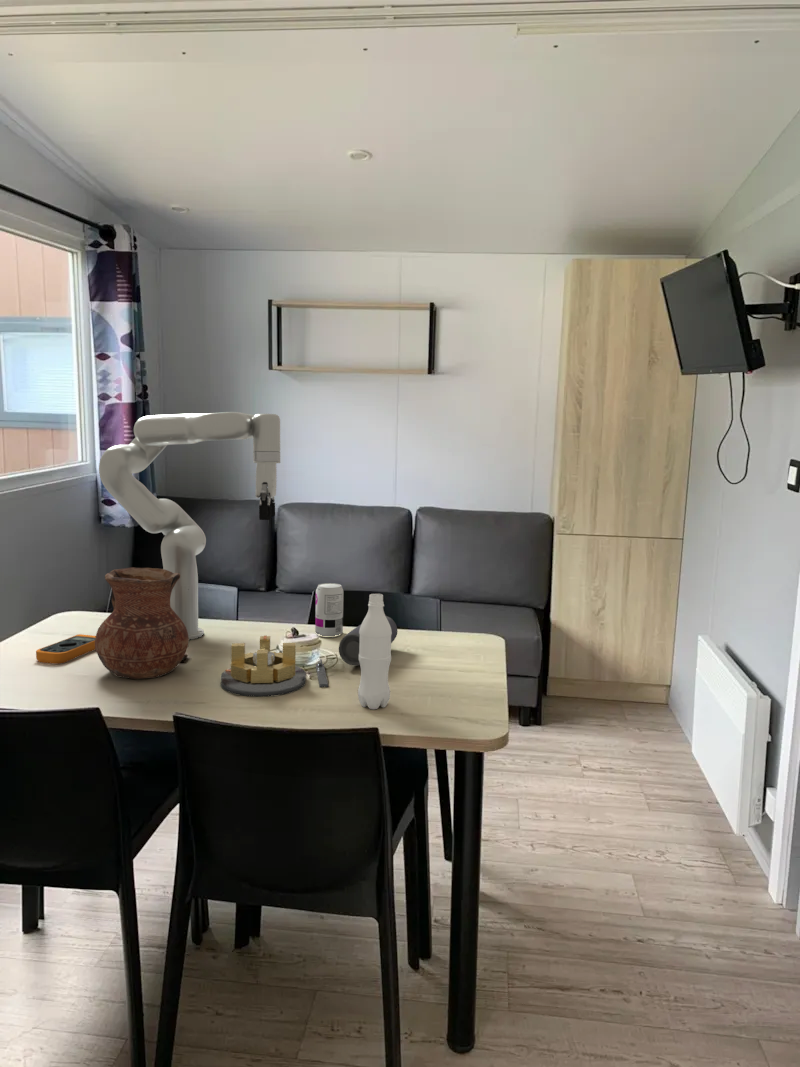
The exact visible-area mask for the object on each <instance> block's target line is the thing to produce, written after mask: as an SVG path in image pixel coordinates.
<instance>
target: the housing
mask: <svg viewBox="0 0 800 1067" xmlns="http://www.w3.org/2000/svg"><path fill="white" fill-rule="evenodd" d="M255 652H256V653H255ZM255 652H253V653H254V654H253V666H257V651H255ZM273 652H274V651H270V652H269V651H268V666H273V665H274V653H273ZM306 678H307V675H306V671H305V670H304V669H303V668H301V667H300V666H297V665H295V676H293V677H292V678H289V679H286V680H283V681H280V682H276V681H273V683H251V681H250V682H247V683H246V682H243V681H240V680H237V679H234V678H232V677H231V667H230V668H228V669H227V668H226V669H225V670H224V671H223V672H221V674H220V686H221V688H222V689H223V690H224V691H225V692H228V693H230V694H233V695H237V696H244V697H255V698H256V697H257V698H259V697H260V698H262V697H264V698H265V697H277V696H283V695H286V694H291V693H294V692H296V691H299V690H300V689H302V688H304V686H305V685H306V681H307V679H306Z"/></svg>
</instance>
